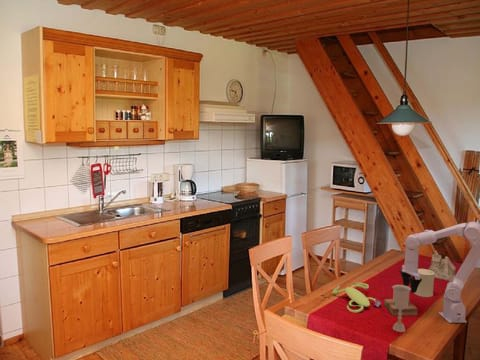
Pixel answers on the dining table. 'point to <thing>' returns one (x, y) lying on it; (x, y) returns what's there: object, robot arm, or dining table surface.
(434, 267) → the ceramic cottage
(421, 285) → the can
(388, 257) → the dining table surface
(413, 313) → the plinth
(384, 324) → the dining table surface
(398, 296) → the chalice
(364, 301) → the figurine
